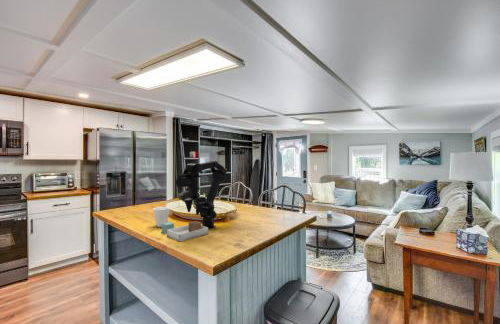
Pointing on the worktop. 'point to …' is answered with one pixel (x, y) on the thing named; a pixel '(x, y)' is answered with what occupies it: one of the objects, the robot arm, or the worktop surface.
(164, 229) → the teal block
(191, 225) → the walnut block
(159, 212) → the cup
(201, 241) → the worktop surface
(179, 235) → the tray
